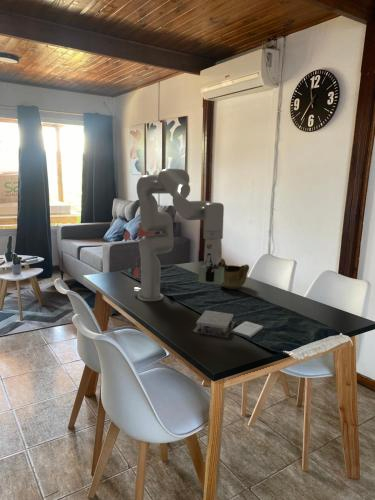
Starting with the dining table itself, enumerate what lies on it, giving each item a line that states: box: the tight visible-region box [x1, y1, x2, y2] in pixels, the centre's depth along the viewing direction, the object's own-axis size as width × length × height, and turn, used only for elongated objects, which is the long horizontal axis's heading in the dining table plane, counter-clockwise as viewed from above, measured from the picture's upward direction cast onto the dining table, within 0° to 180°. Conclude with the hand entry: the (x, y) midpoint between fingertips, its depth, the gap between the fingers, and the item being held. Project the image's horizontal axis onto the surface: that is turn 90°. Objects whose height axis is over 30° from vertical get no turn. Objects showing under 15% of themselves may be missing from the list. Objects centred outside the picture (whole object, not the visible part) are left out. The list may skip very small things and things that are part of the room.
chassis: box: [192, 309, 236, 339], centre depth 150 cm, size 14×16×4 cm
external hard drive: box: [230, 320, 264, 339], centre depth 148 cm, size 2×8×12 cm
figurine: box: [123, 221, 160, 279], centre depth 214 cm, size 15×26×35 cm, turn 122°
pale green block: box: [198, 264, 224, 286], centre depth 147 cm, size 9×5×7 cm, turn 71°
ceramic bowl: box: [218, 257, 250, 290], centre depth 204 cm, size 22×17×15 cm
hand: (211, 279), depth 147 cm, fingers closed on pale green block, 5 cm apart
